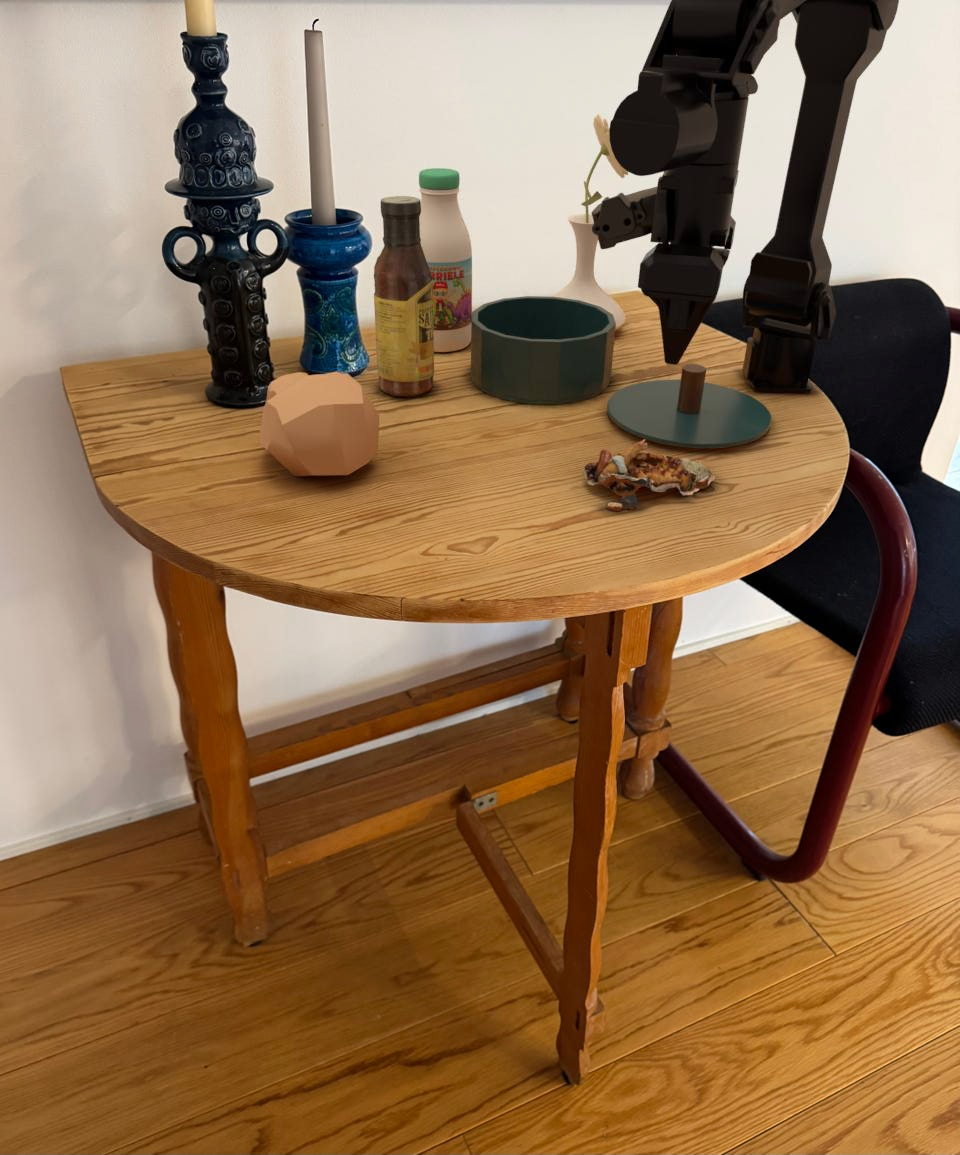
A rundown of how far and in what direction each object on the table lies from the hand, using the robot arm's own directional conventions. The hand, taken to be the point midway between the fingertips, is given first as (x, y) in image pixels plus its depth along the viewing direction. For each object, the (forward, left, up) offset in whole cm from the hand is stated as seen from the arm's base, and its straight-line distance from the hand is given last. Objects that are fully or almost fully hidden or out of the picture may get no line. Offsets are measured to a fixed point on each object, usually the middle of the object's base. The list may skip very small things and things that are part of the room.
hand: (677, 346), depth 85 cm
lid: (-4, -10, -11) cm, 15 cm away
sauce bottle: (+26, -17, -11) cm, 33 cm away
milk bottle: (+23, -32, -11) cm, 41 cm away
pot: (+11, -21, -11) cm, 26 cm away
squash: (+34, -1, -11) cm, 36 cm away
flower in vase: (+5, -39, -11) cm, 40 cm away
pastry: (+2, +5, -11) cm, 13 cm away
